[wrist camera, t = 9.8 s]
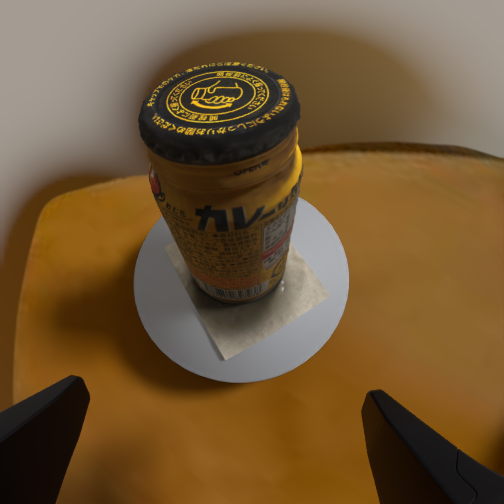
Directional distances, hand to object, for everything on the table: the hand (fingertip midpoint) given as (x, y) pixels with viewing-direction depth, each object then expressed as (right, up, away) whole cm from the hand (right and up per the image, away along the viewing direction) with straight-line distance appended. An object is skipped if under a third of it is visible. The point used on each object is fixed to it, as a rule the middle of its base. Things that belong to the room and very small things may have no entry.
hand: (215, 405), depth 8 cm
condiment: (+1, +3, +11) cm, 11 cm away
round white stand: (0, +1, +15) cm, 15 cm away
